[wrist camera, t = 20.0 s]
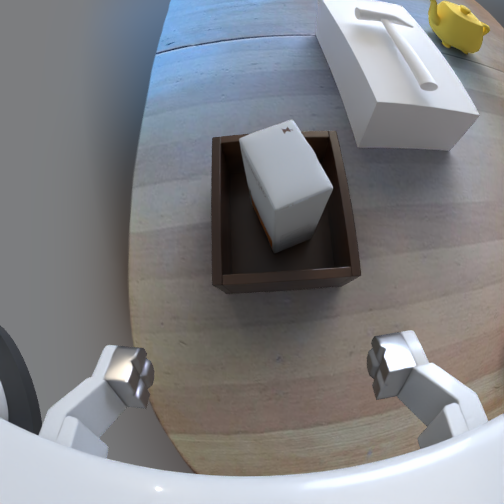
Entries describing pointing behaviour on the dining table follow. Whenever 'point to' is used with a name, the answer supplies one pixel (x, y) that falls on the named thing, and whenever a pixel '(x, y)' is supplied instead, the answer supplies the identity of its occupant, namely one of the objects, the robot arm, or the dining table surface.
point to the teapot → (456, 26)
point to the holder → (255, 240)
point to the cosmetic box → (284, 183)
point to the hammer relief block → (392, 77)
